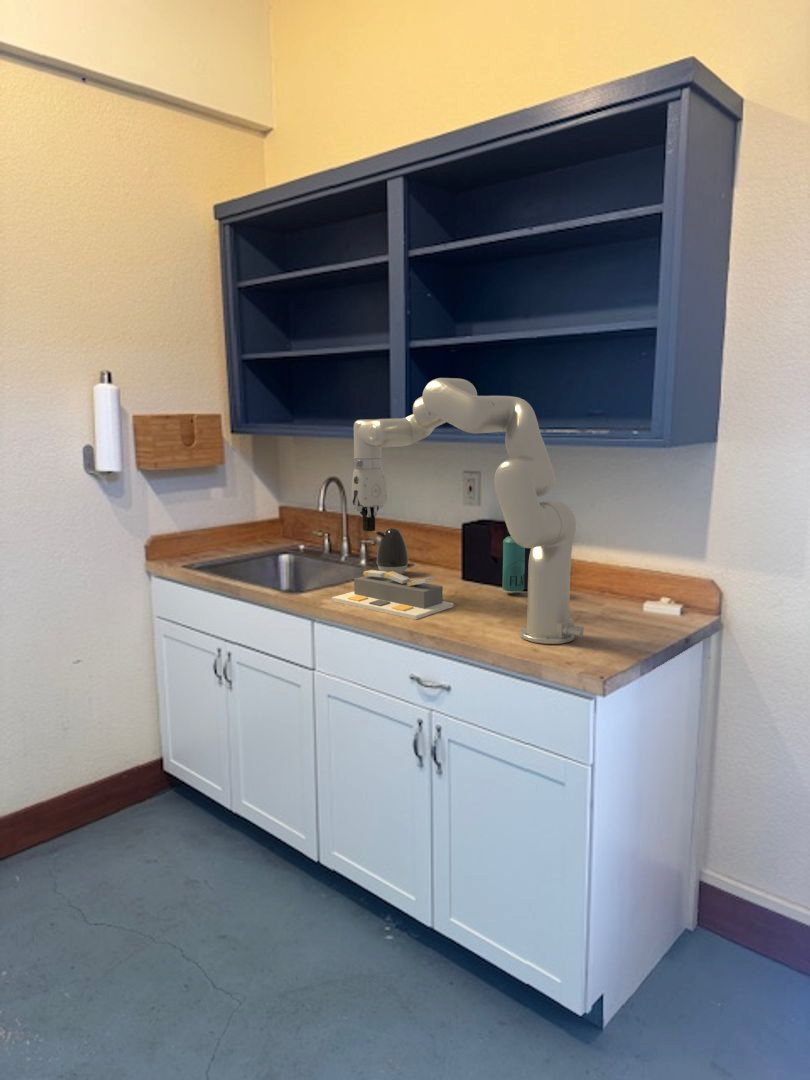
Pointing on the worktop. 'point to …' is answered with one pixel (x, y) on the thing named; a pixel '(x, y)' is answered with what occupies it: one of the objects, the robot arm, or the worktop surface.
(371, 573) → the plate
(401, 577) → the block
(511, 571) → the beverage bottle
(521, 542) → the robot arm
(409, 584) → the plate
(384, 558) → the black egg-shaped figure
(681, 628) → the worktop surface
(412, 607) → the switch unit
